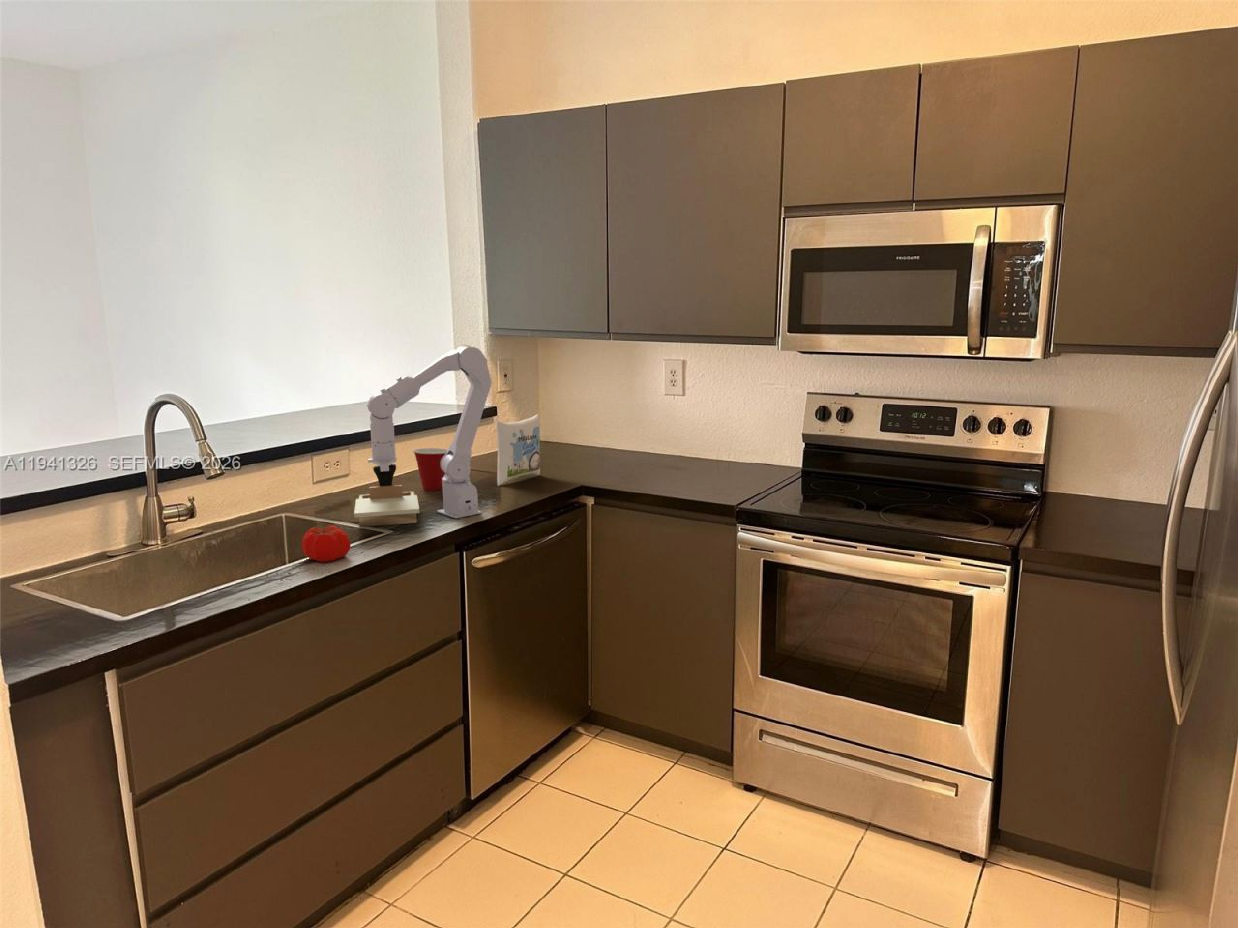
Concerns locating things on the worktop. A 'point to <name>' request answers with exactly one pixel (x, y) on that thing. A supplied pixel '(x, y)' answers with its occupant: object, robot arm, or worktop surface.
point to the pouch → (518, 448)
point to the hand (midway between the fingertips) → (386, 493)
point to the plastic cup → (430, 467)
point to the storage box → (387, 516)
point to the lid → (386, 502)
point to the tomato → (325, 543)
